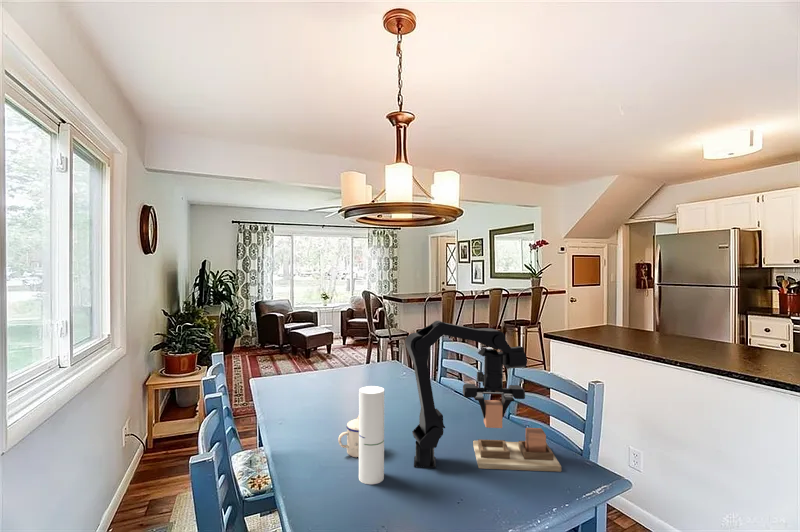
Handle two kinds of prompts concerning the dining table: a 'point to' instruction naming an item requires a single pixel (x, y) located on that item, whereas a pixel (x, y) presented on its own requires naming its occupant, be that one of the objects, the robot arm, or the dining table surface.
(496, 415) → the loose block
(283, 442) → the dining table surface
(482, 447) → the socket board
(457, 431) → the dining table surface
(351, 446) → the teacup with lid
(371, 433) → the cylindrical container
